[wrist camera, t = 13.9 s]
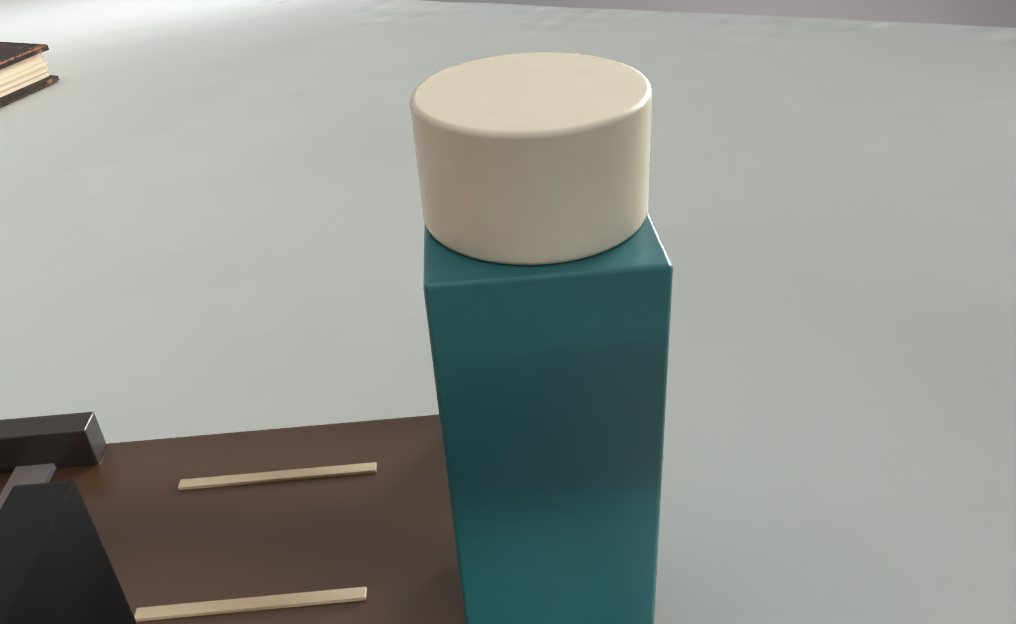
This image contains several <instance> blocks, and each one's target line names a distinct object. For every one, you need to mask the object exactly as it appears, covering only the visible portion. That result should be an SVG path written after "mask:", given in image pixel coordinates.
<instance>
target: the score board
mask: <svg viewBox="0 0 1016 624" xmlns="http://www.w3.org/2000/svg"><path fill="white" fill-rule="evenodd" d="M63 481H75V482H76V484H77V487H78V489H79V491H80V494H81V496H82V498H83V500H84V503H85V505H86V507H87V510H88V512H89V514H90V516H91V519H92V521H93V523H94V526H95V528H96V530H97V533H98V535H99V537H100V539H101V542H102V544H103V546H104V549H105V551H106V553H107V555H108V558H109V560H110V562H111V565H112V567H113V569H114V572H115V574H116V576H117V578H118V581H119V583H120V585H121V588H122V590H123V592H124V594H125V597H126V599H127V601H128V604H129V606H130V608H131V611H132V613H133V615H134V617H135V620H136V624H465V616H464V608H463V600H462V592H461V584H460V576H459V568H458V560H457V552H456V544H455V536H454V528H453V520H452V512H451V504H450V496H449V488H448V480H447V472H446V464H445V456H444V448H443V440H442V432H441V424H440V416H439V415H429V416H417V417H406V418H394V419H383V420H372V421H360V422H349V423H337V424H326V425H315V426H303V427H292V428H280V429H269V430H257V431H246V432H235V433H223V434H212V435H200V436H189V437H177V438H166V439H155V440H143V441H132V442H120V443H109V444H106V442H105V439H104V437H103V434H102V432H101V429H100V427H99V424H98V422H97V419H96V417H95V414H94V413H93V412H85V413H73V414H62V415H50V416H39V417H27V418H16V419H4V420H0V509H1V507H2V505H3V503H4V502H5V500H6V498H7V496H8V495H9V493H10V491H11V490H12V488H13V486H15V485H27V484H39V483H51V482H63Z"/></svg>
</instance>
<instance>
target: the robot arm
mask: <svg viewBox="0 0 1016 624" xmlns="http://www.w3.org/2000/svg"><path fill="white" fill-rule="evenodd" d="M0 624H136V620H135V617H134V615H133V613H132V611H131V608H130V606H129V604H128V601H127V599H126V597H125V594H124V592H123V590H122V588H121V585H120V583H119V581H118V578H117V576H116V574H115V572H114V569H113V567H112V565H111V562H110V560H109V558H108V555H107V553H106V551H105V549H104V546H103V544H102V542H101V539H100V537H99V535H98V533H97V530H96V528H95V526H94V523H93V521H92V519H91V516H90V514H89V512H88V510H87V507H86V505H85V503H84V500H83V498H82V496H81V494H80V491H79V489H78V487H77V484H76V482H75V481H63V482H51V483H39V484H27V485H15V486H13V488H12V490H11V491H10V493H9V495H8V496H7V498H6V500H5V502H4V503H3V505H2V507H1V509H0Z"/></svg>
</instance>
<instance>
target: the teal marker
mask: <svg viewBox="0 0 1016 624" xmlns="http://www.w3.org/2000/svg"><path fill="white" fill-rule="evenodd" d="M410 105H411V114H412V122H413V131H414V139H415V148H416V156H417V164H418V173H419V181H420V190H421V198H422V206H423V215H424V222H425V236H424V296H425V304H426V312H427V320H428V328H429V336H430V344H431V352H432V360H433V368H434V376H435V384H436V392H437V400H438V408H439V416H440V424H441V432H442V440H443V448H444V456H445V464H446V472H447V480H448V488H449V496H450V504H451V512H452V520H453V528H454V536H455V544H456V552H457V560H458V568H459V576H460V584H461V592H462V600H463V608H464V616H465V624H654V610H655V591H656V572H657V554H658V535H659V516H660V498H661V479H662V460H663V442H664V423H665V404H666V386H667V367H668V348H669V330H670V311H671V292H672V274H673V267H672V265H671V262H670V260H669V258H668V256H667V253H666V251H665V249H664V247H663V245H662V242H661V240H660V238H659V236H658V233H657V231H656V229H655V227H654V225H653V222H652V220H651V218H650V216H649V213H648V193H649V165H650V136H651V107H652V89H651V86H650V84H649V82H648V80H647V78H646V77H645V76H644V75H643V74H642V73H640V72H639V71H638V70H636V69H634V68H632V67H630V66H628V65H625V64H623V63H620V62H617V61H613V60H610V59H605V58H601V57H596V56H590V55H583V54H575V53H559V52H533V53H517V54H507V55H500V56H493V57H487V58H482V59H478V60H473V61H469V62H466V63H462V64H459V65H456V66H453V67H450V68H447V69H445V70H442V71H440V72H438V73H436V74H434V75H432V76H430V77H428V78H427V79H426V80H424V81H423V82H421V83H420V84H419V85H418V86H417V87H416V89H415V90H414V92H413V94H412V97H411V101H410Z"/></svg>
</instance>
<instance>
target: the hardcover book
mask: <svg viewBox="0 0 1016 624" xmlns="http://www.w3.org/2000/svg"><path fill="white" fill-rule="evenodd" d="M47 50H49V48H48V45H46V44H29V43H11V42H0V107H2V106H4V105H6V104H9V103H11V102H13V101H15V100H17V99H20V98H22V97H24V96H26V95H28V94H30V93H33V92H35V91H37V90H39V89H41V88H44V87H46V86H48V85H50V84H52V83H55V82H57V81H58V80H59V78H58V76H53V75H49V71H48V70H47V66H48V63H47V62H46V61H45V60H43V56H42V55H41V53H42V52H44V51H47Z"/></svg>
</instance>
